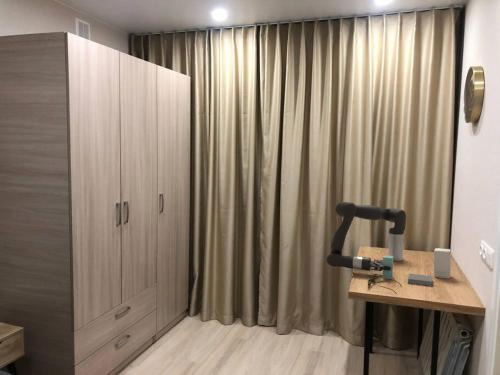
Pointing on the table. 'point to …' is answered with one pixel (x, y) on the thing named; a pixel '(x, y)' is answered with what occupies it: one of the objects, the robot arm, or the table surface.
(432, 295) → the table surface
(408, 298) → the table surface
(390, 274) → the teal block
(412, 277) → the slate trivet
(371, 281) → the sunglasses
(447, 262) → the skincare box
